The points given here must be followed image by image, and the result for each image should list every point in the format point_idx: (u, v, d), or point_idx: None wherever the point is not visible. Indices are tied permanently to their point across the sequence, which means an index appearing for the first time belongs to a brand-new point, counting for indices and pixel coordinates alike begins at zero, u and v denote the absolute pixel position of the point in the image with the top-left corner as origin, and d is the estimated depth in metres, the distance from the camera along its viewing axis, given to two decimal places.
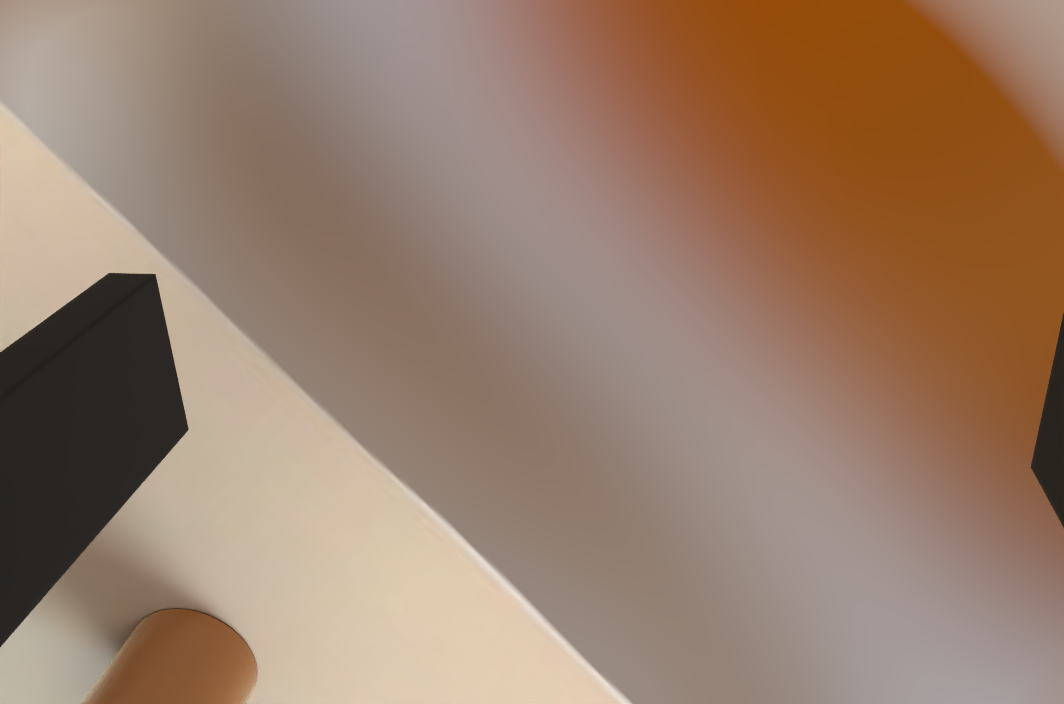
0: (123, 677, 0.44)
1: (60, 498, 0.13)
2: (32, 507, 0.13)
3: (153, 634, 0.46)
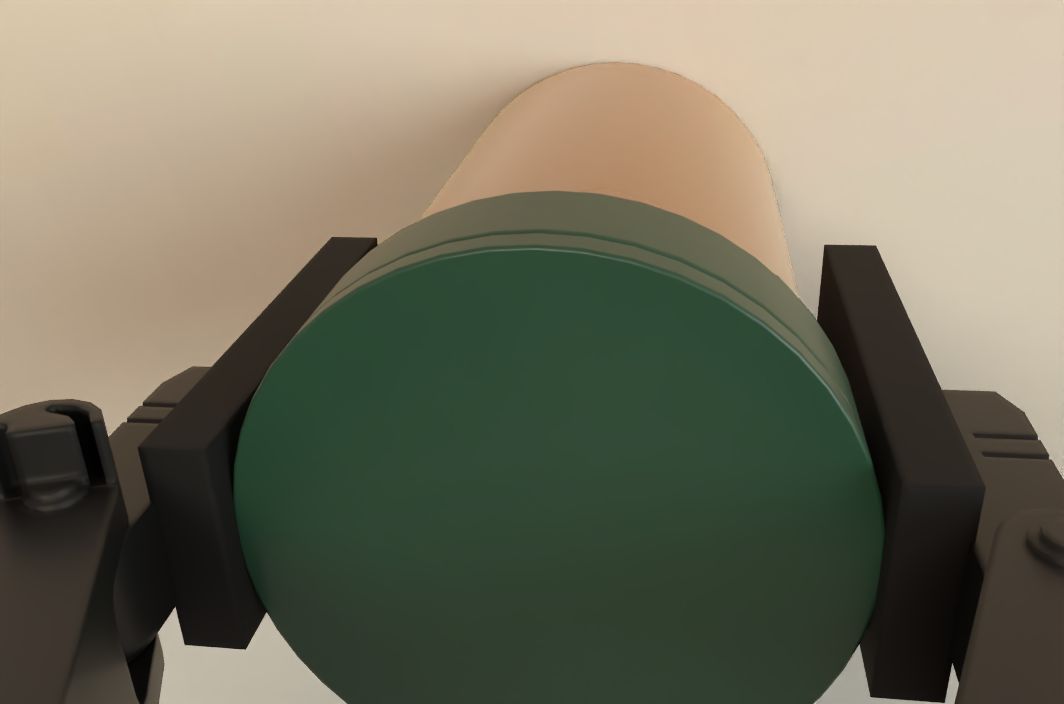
0: None
1: None
2: None
3: None
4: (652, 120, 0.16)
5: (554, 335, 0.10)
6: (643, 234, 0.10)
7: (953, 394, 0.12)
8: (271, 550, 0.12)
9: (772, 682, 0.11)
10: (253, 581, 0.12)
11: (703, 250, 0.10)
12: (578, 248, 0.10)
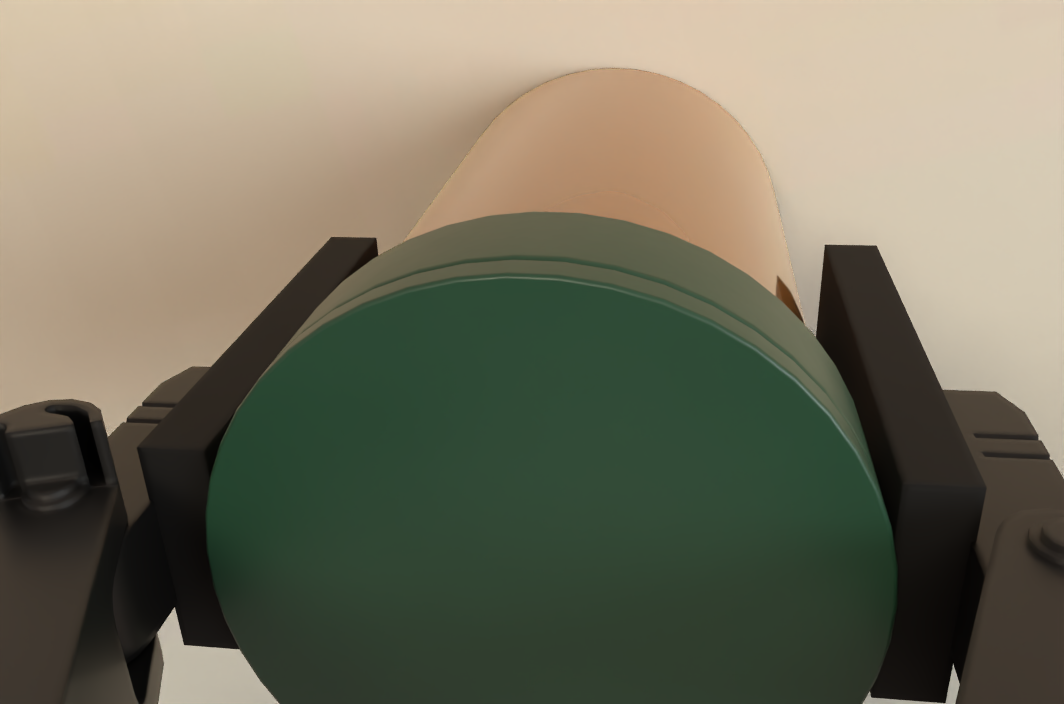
0: None
1: None
2: None
3: None
4: (652, 129, 0.15)
5: (304, 627, 0.11)
6: None
7: (954, 394, 0.12)
8: None
9: (611, 346, 0.09)
10: None
11: None
12: (230, 617, 0.11)
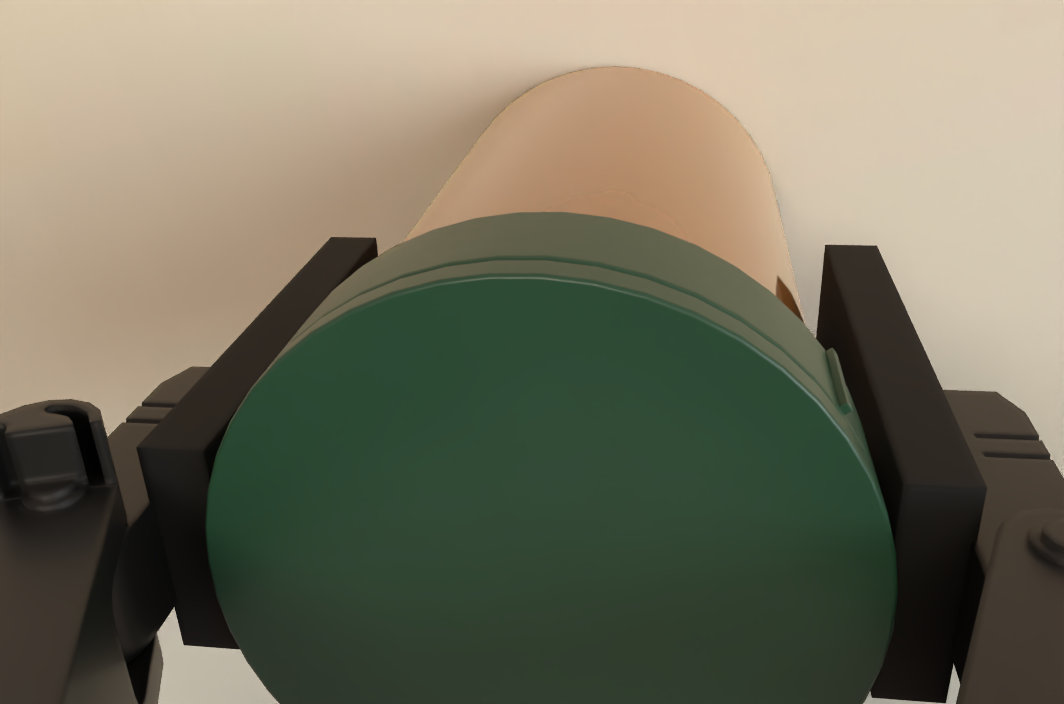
0: None
1: None
2: None
3: None
4: (653, 127, 0.15)
5: None
6: None
7: (954, 394, 0.12)
8: (799, 443, 0.09)
9: (261, 589, 0.11)
10: (801, 389, 0.09)
11: None
12: None
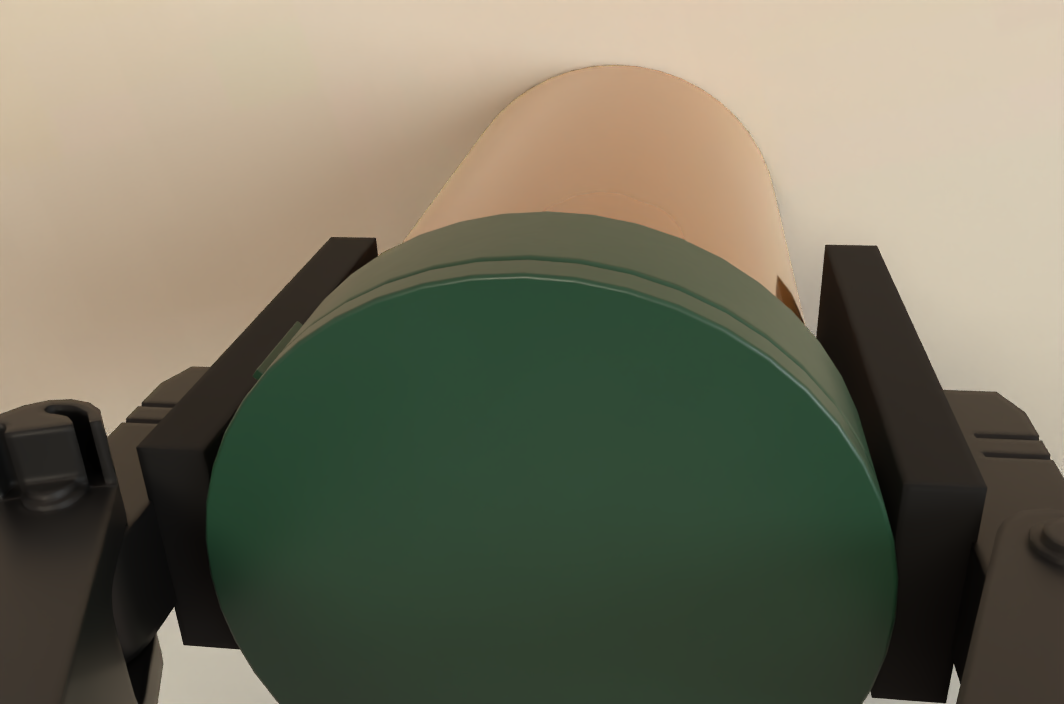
0: None
1: None
2: None
3: None
4: (655, 125, 0.15)
5: (716, 437, 0.09)
6: (830, 389, 0.10)
7: (955, 395, 0.12)
8: (267, 437, 0.10)
9: None
10: (221, 451, 0.10)
11: (860, 431, 0.10)
12: (801, 383, 0.09)
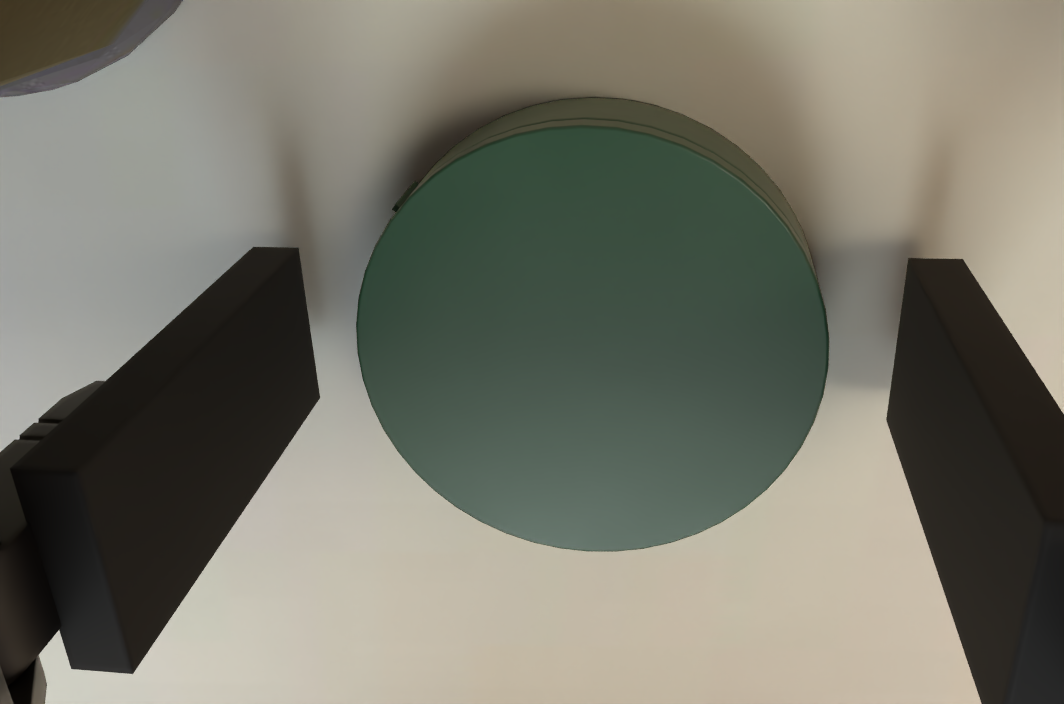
0: None
1: (231, 454, 0.14)
2: (212, 461, 0.13)
3: None
4: None
5: (707, 238, 0.14)
6: (783, 212, 0.15)
7: None
8: (405, 246, 0.15)
9: (651, 518, 0.16)
10: (372, 258, 0.15)
11: (805, 244, 0.15)
12: (762, 198, 0.14)
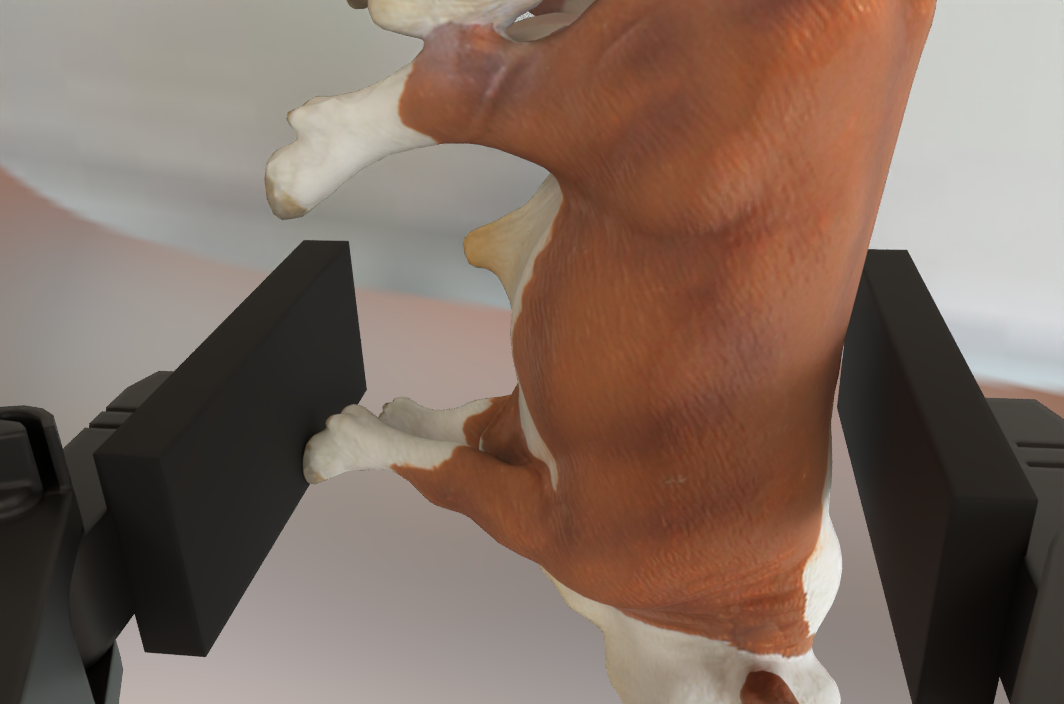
0: None
1: (290, 443, 0.14)
2: (274, 449, 0.14)
3: None
4: None
5: None
6: None
7: (993, 402, 0.12)
8: None
9: None
10: None
11: None
12: None
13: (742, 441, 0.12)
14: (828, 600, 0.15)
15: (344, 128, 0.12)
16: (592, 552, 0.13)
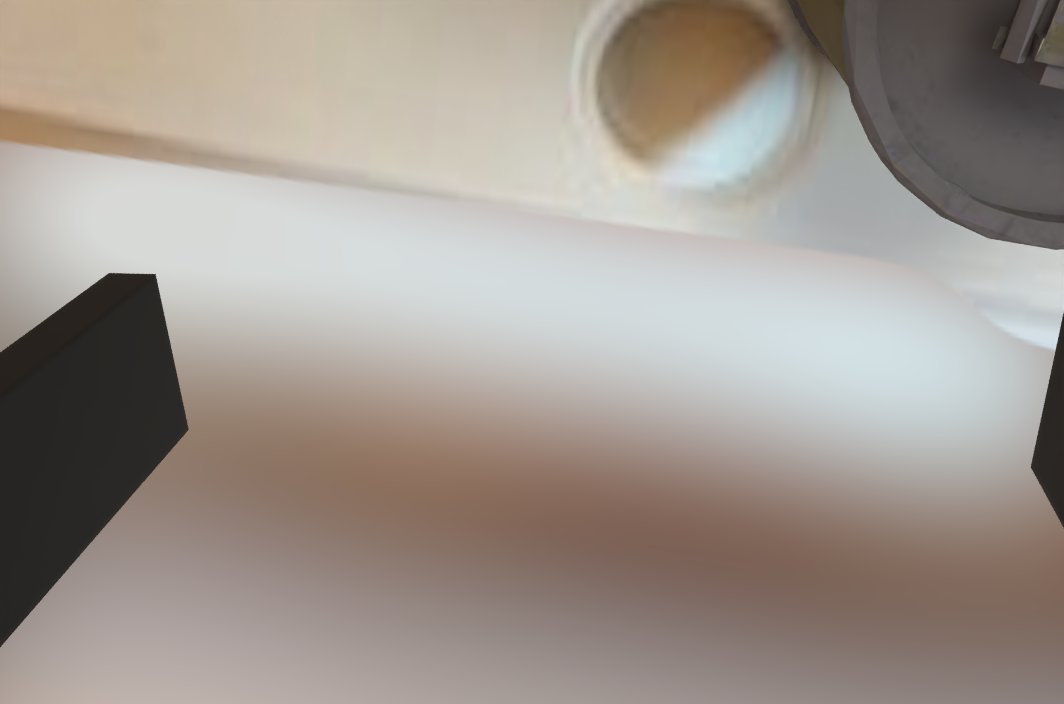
0: None
1: (60, 498, 0.13)
2: (33, 507, 0.13)
3: None
4: None
5: None
6: None
7: None
8: None
9: None
10: None
11: None
12: None
13: None
14: None
15: None
16: None
